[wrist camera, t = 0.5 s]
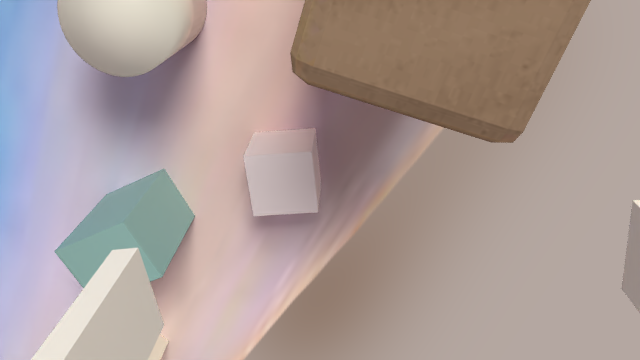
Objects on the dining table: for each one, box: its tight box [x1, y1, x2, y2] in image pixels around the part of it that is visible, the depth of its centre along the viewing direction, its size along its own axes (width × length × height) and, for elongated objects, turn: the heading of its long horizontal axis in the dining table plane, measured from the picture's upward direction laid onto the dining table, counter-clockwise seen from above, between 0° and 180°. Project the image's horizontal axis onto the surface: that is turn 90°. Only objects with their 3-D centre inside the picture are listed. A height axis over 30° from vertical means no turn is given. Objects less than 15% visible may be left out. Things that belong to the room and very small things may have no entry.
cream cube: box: [148, 334, 169, 360], centre depth 50 cm, size 5×5×5 cm
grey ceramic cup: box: [57, 0, 207, 77], centre depth 35 cm, size 7×7×8 cm
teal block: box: [54, 169, 195, 288], centre depth 42 cm, size 5×6×9 cm
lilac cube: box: [243, 128, 321, 216], centre depth 41 cm, size 5×5×5 cm
